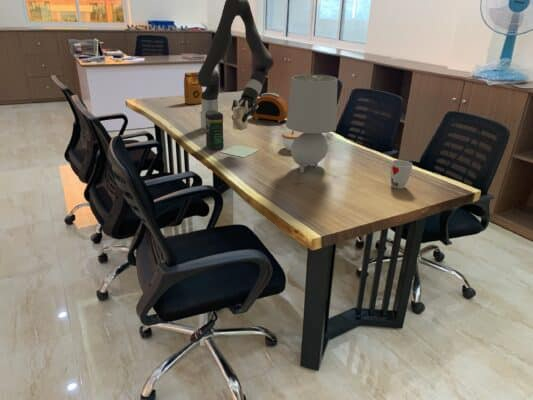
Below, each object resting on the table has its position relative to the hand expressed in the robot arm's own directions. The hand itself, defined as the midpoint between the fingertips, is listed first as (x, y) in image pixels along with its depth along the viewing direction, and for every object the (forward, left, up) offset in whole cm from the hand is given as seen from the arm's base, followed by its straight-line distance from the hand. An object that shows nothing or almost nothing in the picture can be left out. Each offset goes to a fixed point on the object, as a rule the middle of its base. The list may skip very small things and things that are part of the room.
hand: (238, 120), depth 199 cm
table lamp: (+38, 0, -16) cm, 41 cm away
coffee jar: (-14, 0, -16) cm, 21 cm away
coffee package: (-89, +73, -16) cm, 116 cm away
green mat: (0, +2, -16) cm, 16 cm away
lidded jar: (+19, +21, -16) cm, 32 cm away
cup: (+78, +3, -16) cm, 80 cm away
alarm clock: (-21, +66, -16) cm, 71 cm away
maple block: (0, +2, -4) cm, 5 cm away
